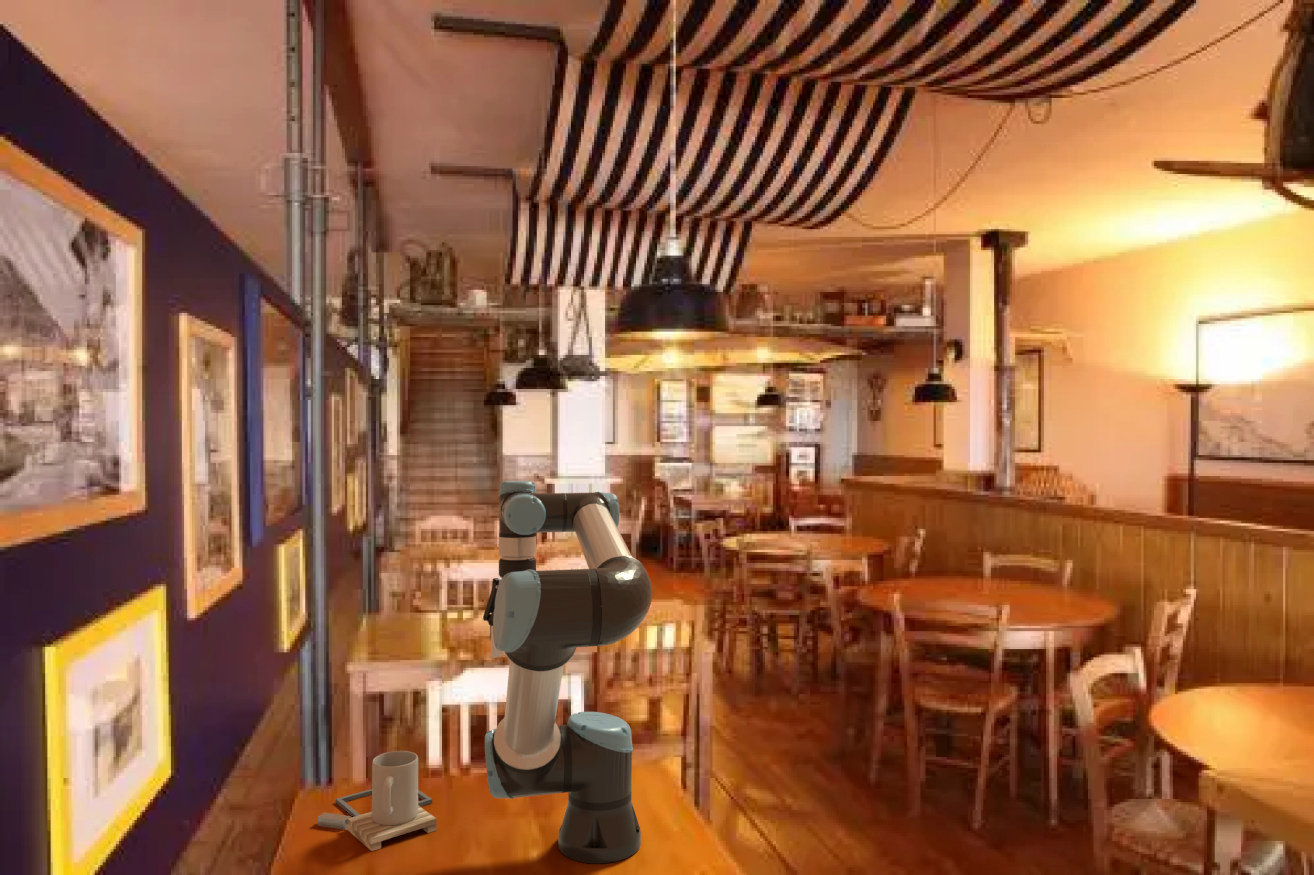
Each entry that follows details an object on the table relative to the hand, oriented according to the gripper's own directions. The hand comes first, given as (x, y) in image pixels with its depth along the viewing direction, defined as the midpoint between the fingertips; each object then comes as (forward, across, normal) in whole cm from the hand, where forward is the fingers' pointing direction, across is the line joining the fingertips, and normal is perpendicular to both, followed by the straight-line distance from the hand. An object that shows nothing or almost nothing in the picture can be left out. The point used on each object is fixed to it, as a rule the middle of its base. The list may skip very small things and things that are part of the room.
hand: (517, 662), depth 179 cm
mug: (+27, +8, +23) cm, 36 cm away
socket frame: (+29, +20, +18) cm, 40 cm away
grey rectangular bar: (+29, +18, +30) cm, 45 cm away
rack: (+29, +8, +23) cm, 38 cm away
